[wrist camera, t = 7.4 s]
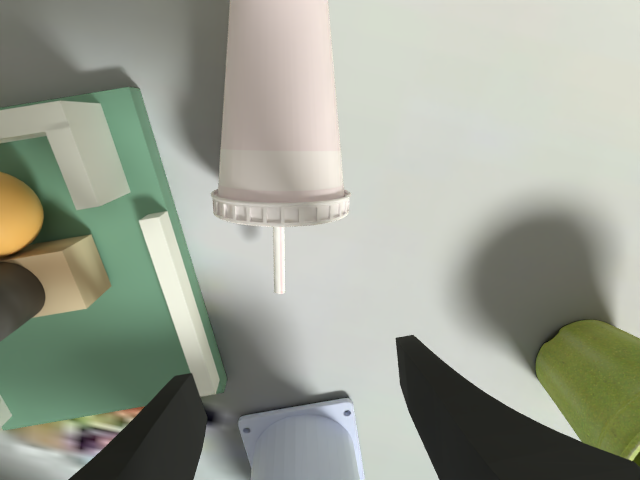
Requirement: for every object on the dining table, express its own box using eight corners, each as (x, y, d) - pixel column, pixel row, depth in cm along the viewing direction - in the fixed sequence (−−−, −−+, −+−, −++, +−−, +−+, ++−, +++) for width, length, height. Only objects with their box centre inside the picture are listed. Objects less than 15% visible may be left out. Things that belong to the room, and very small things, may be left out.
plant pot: (513, 307, 23) (632, 411, 15) (652, 285, 23) (847, 376, 15) (507, 417, 26) (604, 552, 18) (630, 396, 26) (782, 522, 18)
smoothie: (184, -14, 15) (207, 283, 19) (212, -98, 10) (236, 342, 14) (316, 11, 18) (313, 266, 22) (394, -43, 13) (372, 310, 17)
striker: (111, 286, 19) (37, 353, 14) (1, 304, 19) (-117, 379, 14) (91, 234, 18) (2, 284, 13) (-25, 253, 18) (-164, 312, 13)
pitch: (227, 379, 23) (213, 432, 19) (17, 415, 23) (-40, 476, 19) (139, 88, 17) (93, 80, 13) (-144, 135, 17) (-274, 139, 13)
